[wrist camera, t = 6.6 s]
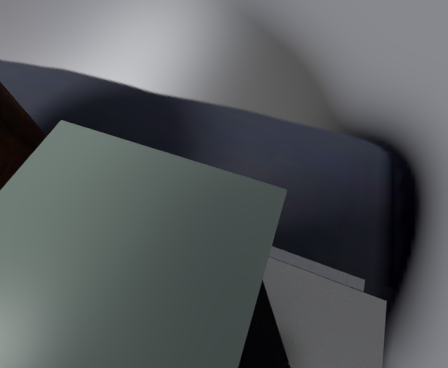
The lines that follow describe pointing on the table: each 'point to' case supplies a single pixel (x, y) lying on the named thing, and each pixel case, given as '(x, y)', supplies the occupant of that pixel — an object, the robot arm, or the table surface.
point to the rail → (324, 314)
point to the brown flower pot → (15, 136)
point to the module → (129, 256)
